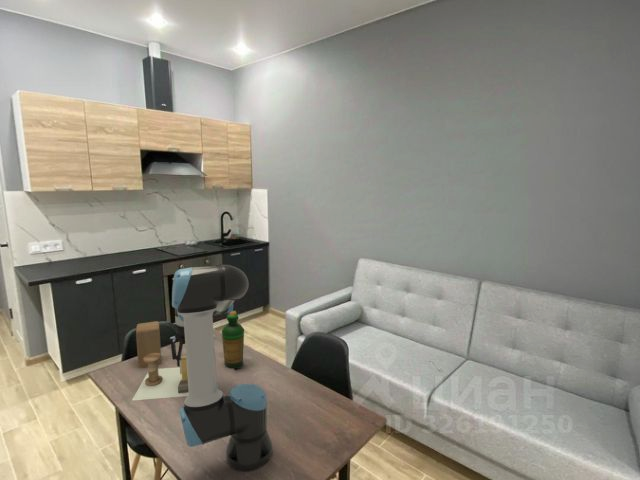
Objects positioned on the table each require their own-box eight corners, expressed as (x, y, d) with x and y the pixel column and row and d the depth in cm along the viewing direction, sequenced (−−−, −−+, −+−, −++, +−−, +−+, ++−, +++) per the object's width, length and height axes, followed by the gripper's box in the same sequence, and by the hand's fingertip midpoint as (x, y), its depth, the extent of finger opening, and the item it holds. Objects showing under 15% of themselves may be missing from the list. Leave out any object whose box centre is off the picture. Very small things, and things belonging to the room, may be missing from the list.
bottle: (218, 369, 169) (216, 314, 164) (230, 358, 179) (228, 307, 174) (237, 373, 166) (236, 317, 161) (248, 362, 176) (247, 309, 171)
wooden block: (139, 360, 175) (136, 323, 172) (161, 356, 180) (158, 320, 176) (138, 370, 167) (135, 331, 163) (161, 366, 171) (159, 327, 167)
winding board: (188, 398, 146) (188, 395, 146) (131, 403, 142) (131, 400, 142) (197, 368, 169) (197, 366, 169) (149, 371, 166) (149, 369, 165)
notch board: (188, 392, 148) (187, 385, 148) (178, 393, 148) (177, 386, 147) (195, 368, 167) (195, 363, 166) (187, 369, 166) (186, 363, 166)
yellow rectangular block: (191, 380, 156) (190, 360, 154) (182, 381, 155) (180, 360, 153) (193, 375, 160) (192, 355, 158) (183, 376, 159) (182, 356, 157)
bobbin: (160, 385, 153) (158, 360, 151) (143, 386, 152) (141, 361, 150) (164, 376, 160) (162, 352, 158) (148, 377, 158) (146, 353, 156)
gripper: (206, 318, 158) (208, 366, 162) (166, 320, 155) (169, 369, 159) (203, 325, 150) (205, 375, 154) (161, 327, 147) (164, 378, 152)
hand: (187, 372), depth 157 cm, fingers closed on yellow rectangular block, 4 cm apart
